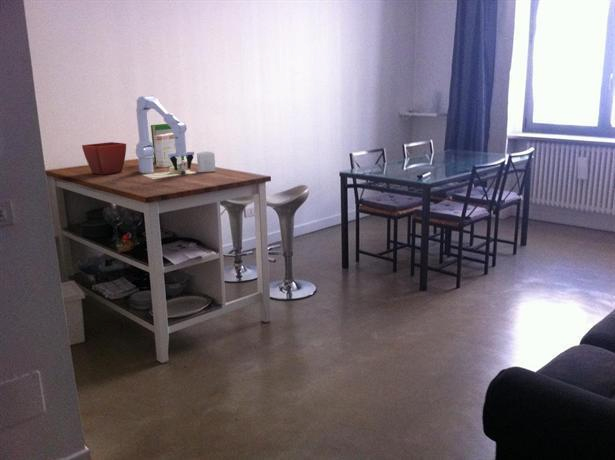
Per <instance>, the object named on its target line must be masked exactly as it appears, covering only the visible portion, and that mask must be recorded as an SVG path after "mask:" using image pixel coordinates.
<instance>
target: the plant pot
mask: <svg viewBox="0 0 615 460" xmlns="http://www.w3.org/2000/svg"><path fill="white" fill-rule="evenodd" d="M81 148H82V151H83V154H84V157H85V160H86V163H87V164H88V167H89V169H90V171H91V173H93V174H97V175H100V176H101V175H102V176H104V175H110V174H118V173H122V171H123V169H124V165H125V160H126V153H127V143H123V142H115V141H110V142H101V143H91V144H90V143H89V144H82V145H81Z"/></svg>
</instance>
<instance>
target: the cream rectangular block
mask: <svg viewBox="0 0 615 460" xmlns="http://www.w3.org/2000/svg"><path fill="white" fill-rule="evenodd" d="M186 170H187V166H186V165H185V171H186ZM168 171H170V173H172V174H177V173H180V164H179V165H177V171H176V170H175V168H174V166H169V170H168Z"/></svg>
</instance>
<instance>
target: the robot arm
mask: <svg viewBox="0 0 615 460" xmlns="http://www.w3.org/2000/svg"><path fill="white" fill-rule="evenodd" d="M135 110H136V111H135V112H136V119H137V120H136V121H137V129H138V131H137V132H138V140H139V141H138V142H137V144H136V145H135V146H136V148H135V155H136V157H137V158H138V161H137V163H138V170H139V171H138V173H141V174H152V173H155V171H154V159H153V158H154V153H155V150H154V148H153V143H152V141H151V140H150V134H149V122H148V114H147V113H148V112H149V111H150V110H154V111H155V112H156V113H158V114H159V115H160V116H161V117H162V118H163V121H164V122H165V124H168V125H169V126H170V127H171V128H172V129H171V130H172V132H173V134H174V137H175V148H176V153H173V154H168V158H170V160H171V162H172V163H173V166H174V168H175V170H176V171H177V158H175V157H181V156H184V157H185V158H186V163H187V166H186V167H187V170H191V166H192V163H193V162H192V161H193V159H194V156H195V151H187V142H186V132H187V125H186V124H185V122H183V121H182V122H181V121H180V119H178V118H177V117H176V116H175V114H174V113H171V112H168V111H167V110H166V109H165V108H164V107H163V105H162V104H161V103H160V102H159V99H158V98H157V97H156V96H154V95H145V96H142V95H141V96H139V97H138V98H137V99H136V109H135ZM179 155H181V156H179Z"/></svg>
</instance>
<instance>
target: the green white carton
mask: <svg viewBox="0 0 615 460" xmlns="http://www.w3.org/2000/svg"><path fill="white" fill-rule="evenodd" d="M171 129H172V128H171V127H170V126H169V125H168V124H167V123H162V124H160V123H159V124H150V131H151V132H150V133H151V143H152V144H153V148H154V150H155V145H154V135H161V134H168V133H173V132H172V130H171ZM181 161H185V156H181ZM153 163H156V154H155V153H154V155H153Z"/></svg>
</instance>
